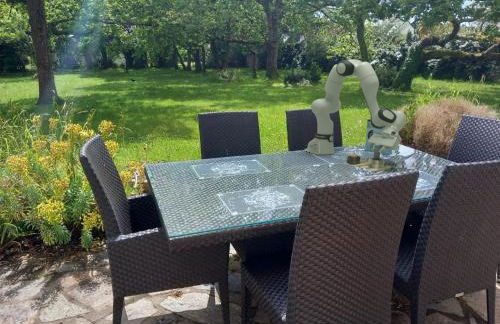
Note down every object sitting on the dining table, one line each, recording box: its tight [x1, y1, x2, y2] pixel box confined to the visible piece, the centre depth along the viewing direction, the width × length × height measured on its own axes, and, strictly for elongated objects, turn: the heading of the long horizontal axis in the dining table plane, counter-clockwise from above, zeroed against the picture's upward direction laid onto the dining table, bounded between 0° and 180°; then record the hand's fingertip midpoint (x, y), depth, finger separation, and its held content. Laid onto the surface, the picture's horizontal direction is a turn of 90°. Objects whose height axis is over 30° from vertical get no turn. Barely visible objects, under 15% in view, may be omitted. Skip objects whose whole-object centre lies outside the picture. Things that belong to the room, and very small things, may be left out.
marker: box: [373, 144, 381, 161], centre depth 254 cm, size 4×4×11 cm
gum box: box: [364, 118, 393, 156], centre depth 299 cm, size 20×5×23 cm, turn 39°
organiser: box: [343, 155, 392, 173], centre depth 262 cm, size 24×17×6 cm
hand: (376, 152), depth 254 cm, fingers closed on marker, 3 cm apart
